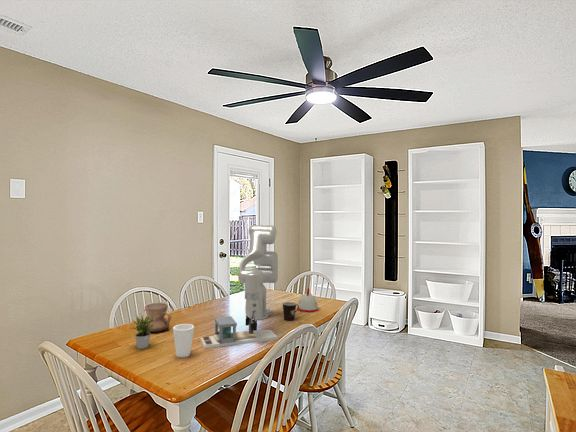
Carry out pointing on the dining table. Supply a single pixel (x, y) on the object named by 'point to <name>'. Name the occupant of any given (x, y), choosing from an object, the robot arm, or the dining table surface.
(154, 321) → the ceramic jug
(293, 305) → the coffee mug
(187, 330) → the foam cup
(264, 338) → the tunnel board
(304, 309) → the grey service bell
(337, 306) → the dining table surface
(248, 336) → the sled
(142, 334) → the house plant
